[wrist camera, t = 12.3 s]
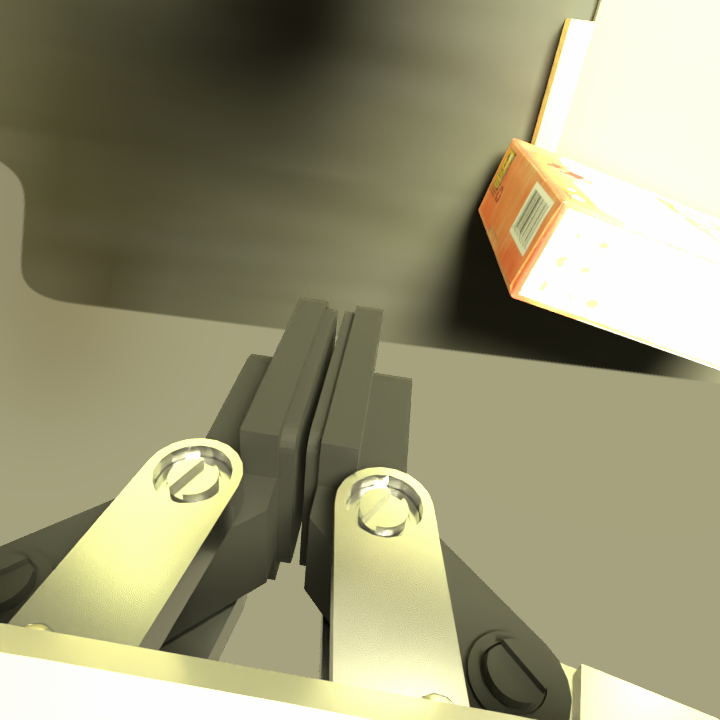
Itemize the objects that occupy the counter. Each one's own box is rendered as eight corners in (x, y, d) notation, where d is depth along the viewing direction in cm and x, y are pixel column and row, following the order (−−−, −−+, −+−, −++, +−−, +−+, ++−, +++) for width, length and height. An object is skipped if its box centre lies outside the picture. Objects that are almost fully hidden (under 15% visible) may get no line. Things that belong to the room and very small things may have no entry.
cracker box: (513, 129, 36) (765, 234, 39) (473, 210, 39) (708, 301, 42) (571, 192, 24) (922, 333, 28) (507, 299, 28) (826, 414, 31)
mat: (582, -41, 32) (588, -43, 31) (1001, 14, 31) (1027, 14, 30) (497, 263, 43) (499, 271, 42) (802, 309, 42) (814, 319, 41)
